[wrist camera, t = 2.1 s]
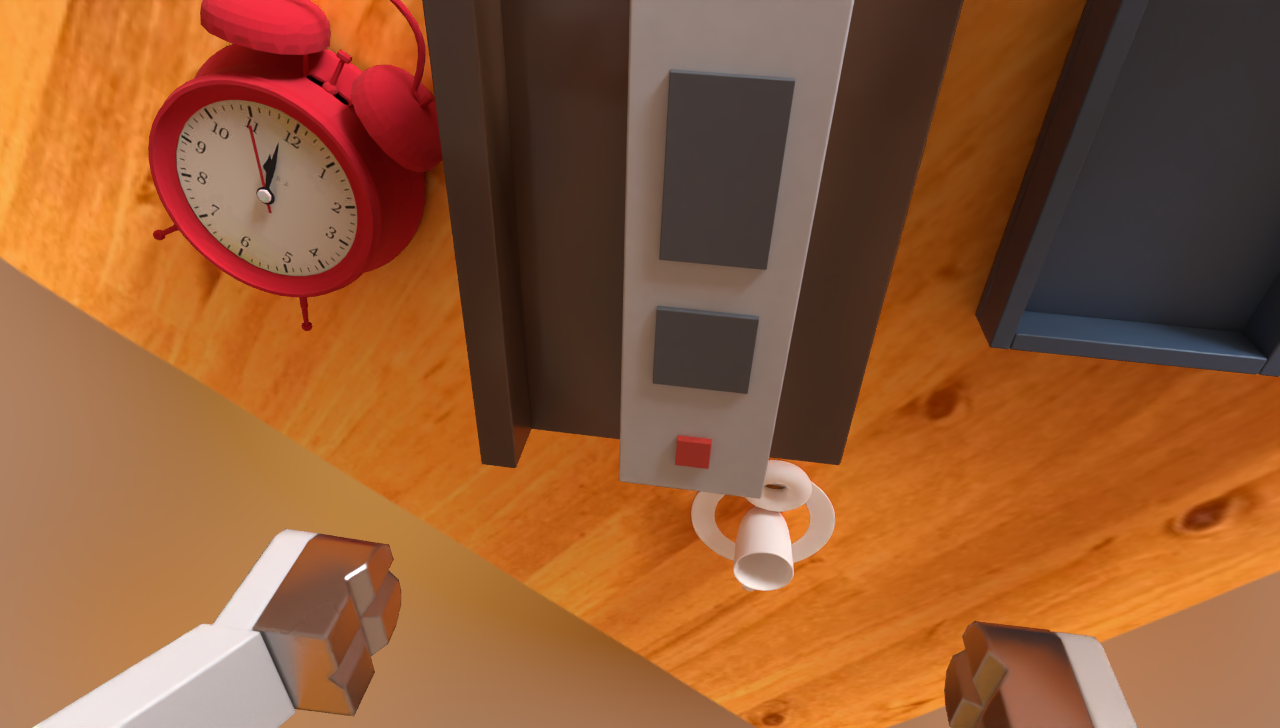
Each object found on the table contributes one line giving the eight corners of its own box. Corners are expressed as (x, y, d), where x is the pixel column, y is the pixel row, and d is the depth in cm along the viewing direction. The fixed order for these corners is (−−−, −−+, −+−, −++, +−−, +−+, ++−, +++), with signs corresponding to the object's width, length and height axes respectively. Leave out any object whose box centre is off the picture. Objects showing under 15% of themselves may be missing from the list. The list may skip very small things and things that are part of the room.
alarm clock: (108, 230, 31) (122, -84, 21) (204, 155, 35) (257, -138, 25) (329, 363, 34) (441, 144, 23) (395, 278, 38) (515, 60, 28)
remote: (651, -95, 16) (629, -83, 14) (852, -86, 16) (869, -70, 13) (632, 420, 25) (617, 487, 23) (761, 435, 25) (761, 504, 22)
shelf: (919, -146, 23) (1029, -132, 13) (822, 313, 33) (845, 509, 23) (546, -162, 24) (400, -159, 15) (561, 287, 34) (481, 464, 25)
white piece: (763, 429, 38) (763, 485, 35) (876, 503, 40) (886, 563, 37) (664, 514, 43) (655, 571, 39) (769, 577, 45) (769, 636, 41)
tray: (1627, -268, 20) (1730, -280, 17) (1245, 341, 31) (1279, 377, 29) (1185, -279, 21) (1233, -292, 18) (974, 314, 32) (989, 348, 30)
